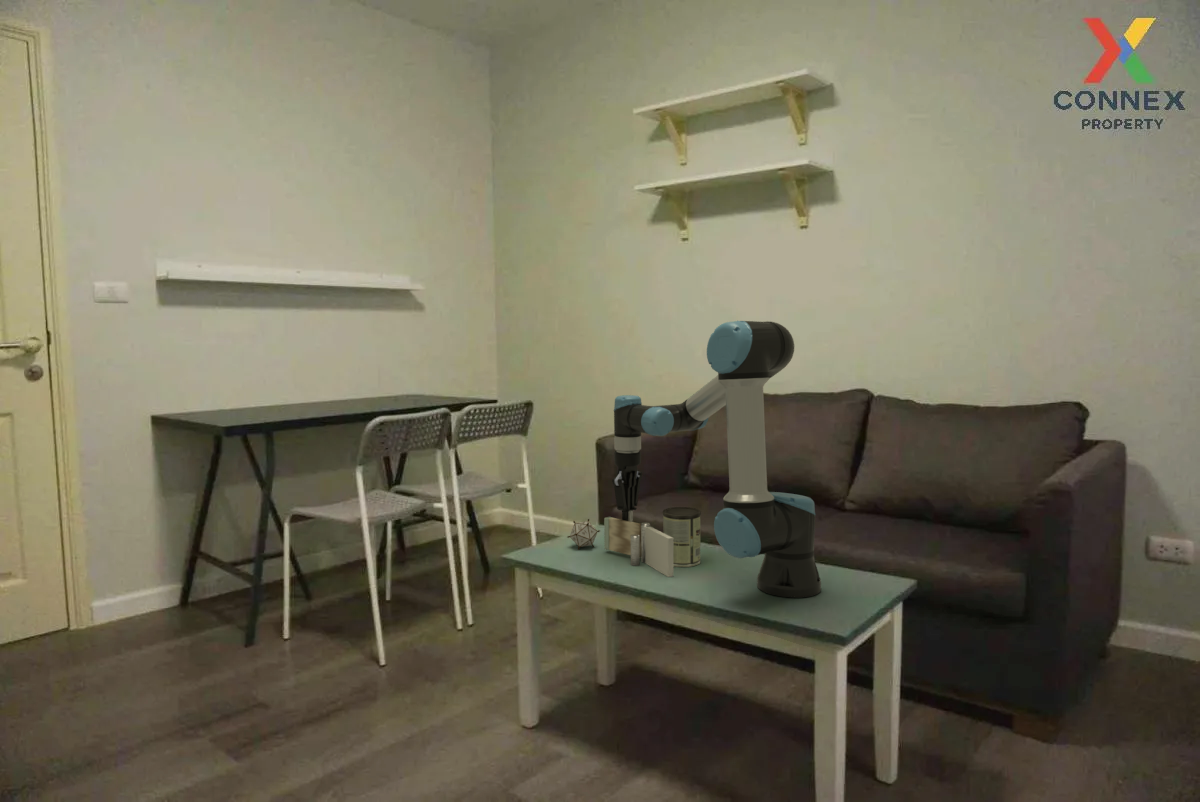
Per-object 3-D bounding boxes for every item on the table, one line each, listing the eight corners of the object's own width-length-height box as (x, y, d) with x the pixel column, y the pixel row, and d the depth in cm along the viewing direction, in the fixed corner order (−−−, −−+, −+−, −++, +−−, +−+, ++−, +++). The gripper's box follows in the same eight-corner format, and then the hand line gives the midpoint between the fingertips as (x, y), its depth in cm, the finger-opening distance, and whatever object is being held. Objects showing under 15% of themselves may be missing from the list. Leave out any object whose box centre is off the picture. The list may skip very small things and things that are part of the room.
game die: (589, 561, 224) (599, 538, 218) (561, 550, 224) (571, 528, 218) (595, 539, 231) (605, 517, 226) (569, 529, 231) (578, 507, 225)
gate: (643, 556, 212) (643, 524, 211) (638, 557, 211) (638, 525, 210) (609, 547, 221) (609, 516, 220) (604, 549, 220) (604, 517, 219)
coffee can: (662, 555, 216) (663, 506, 215) (700, 556, 215) (700, 507, 214) (662, 566, 206) (662, 514, 205) (701, 567, 205) (701, 515, 204)
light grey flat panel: (673, 576, 198) (673, 538, 197) (668, 577, 197) (668, 538, 196) (650, 562, 209) (650, 526, 209) (645, 563, 209) (645, 527, 208)
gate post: (651, 562, 210) (651, 524, 209) (643, 563, 209) (643, 525, 208) (647, 559, 212) (647, 522, 211) (639, 560, 211) (639, 523, 210)
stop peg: (641, 565, 207) (641, 536, 206) (633, 566, 206) (633, 537, 206) (637, 562, 209) (637, 534, 209) (629, 564, 208) (629, 534, 208)
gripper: (627, 446, 223) (627, 525, 226) (603, 452, 212) (604, 536, 215) (650, 448, 219) (650, 529, 222) (627, 455, 208) (627, 540, 211)
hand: (627, 532), depth 218 cm, fingers closed
